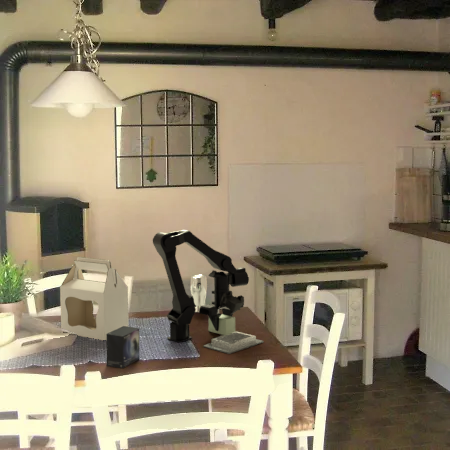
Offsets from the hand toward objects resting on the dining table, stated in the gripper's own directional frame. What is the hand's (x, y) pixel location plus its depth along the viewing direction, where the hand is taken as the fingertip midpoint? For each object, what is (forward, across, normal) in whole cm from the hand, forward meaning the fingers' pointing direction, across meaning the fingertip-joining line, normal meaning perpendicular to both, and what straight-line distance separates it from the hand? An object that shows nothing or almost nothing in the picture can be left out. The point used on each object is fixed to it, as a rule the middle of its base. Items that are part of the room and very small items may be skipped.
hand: (221, 329), depth 233 cm
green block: (+1, 0, 0) cm, 1 cm away
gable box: (+1, -32, +35) cm, 47 cm away
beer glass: (+1, +18, +30) cm, 35 cm away
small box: (+1, -47, -1) cm, 47 cm away
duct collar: (+1, -9, -14) cm, 17 cm away
